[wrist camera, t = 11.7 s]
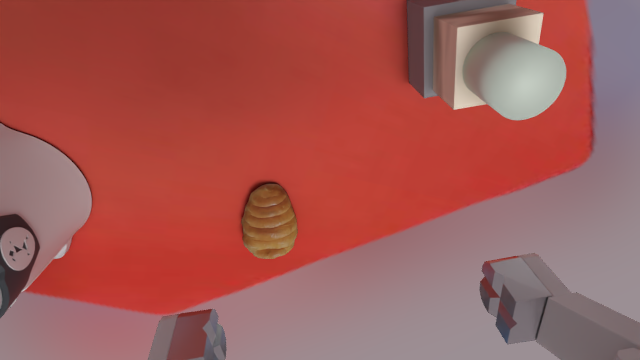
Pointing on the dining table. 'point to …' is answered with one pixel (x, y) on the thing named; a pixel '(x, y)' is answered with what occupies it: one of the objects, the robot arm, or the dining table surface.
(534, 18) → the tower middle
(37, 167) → the robot arm
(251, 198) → the pastry
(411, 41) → the tower base
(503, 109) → the grey round cylinder
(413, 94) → the dining table surface
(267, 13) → the dining table surface
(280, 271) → the dining table surface
